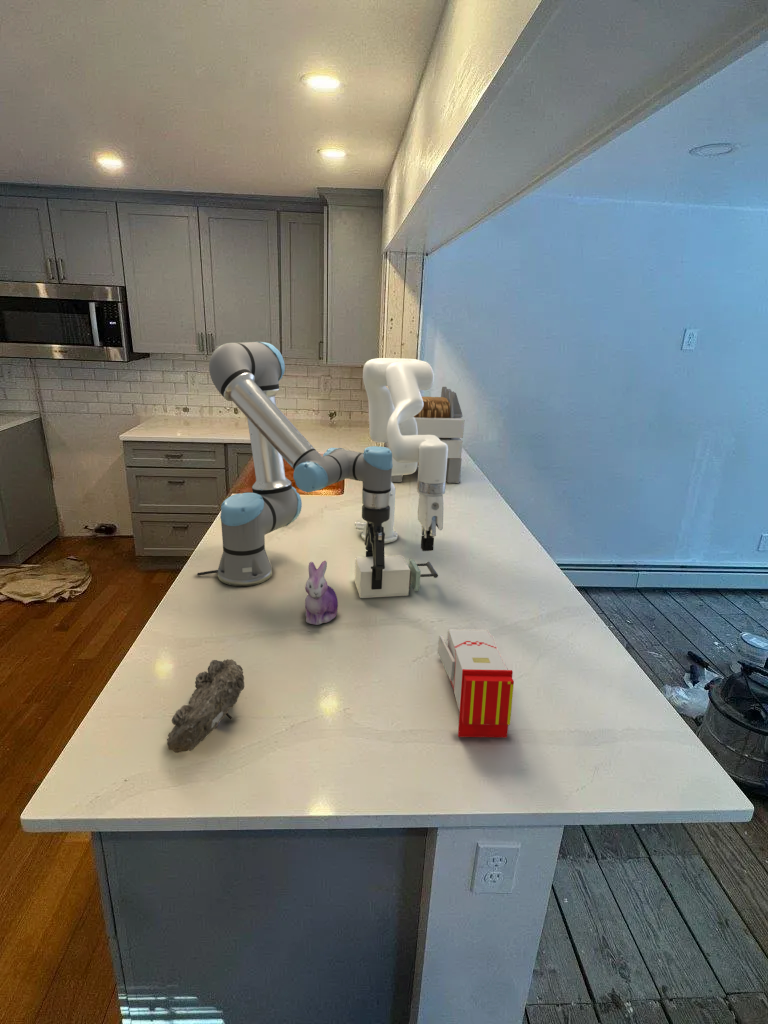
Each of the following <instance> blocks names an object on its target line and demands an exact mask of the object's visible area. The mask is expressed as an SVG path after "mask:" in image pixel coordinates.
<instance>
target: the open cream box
mask: <svg viewBox="0 0 768 1024" xmlns="http://www.w3.org/2000/svg"><path fill="white" fill-rule="evenodd" d="M384 560H385V569H383V571H382V589H375V590H372V589H371V586H372V569H371V567H372V566H373V557H366V556H355V563H354V564H355V566H354V584H355V587H356V590H357V593H358V596H359V599H369V598H387V597H388V598H389V597H405V596H409V593H410V589H409V579H410V569H409V564H408V563H407V561H406V559H405V557H404V556H403V554H402V555H401V554H398V555H384Z"/></svg>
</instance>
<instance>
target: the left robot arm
mask: <svg viewBox="0 0 768 1024" xmlns="http://www.w3.org/2000/svg"><path fill="white" fill-rule="evenodd" d="M208 371H209V376H210V379H211V381H212V383H213V385H214V387H215V388H216V390H217V391H218V392H219V394H220V395H221V396H222V397H223V398H224V399H225V401H227V402H232V403H234V404H235V406H236V407H237V408H238V409H239V410H240V411H241V412H242V414H243V415H244V416H245V417H246V420H247V427H248V433H249V440H250V447H251V453H252V454H251V455H252V461H253V468H254V475H255V482H254V483H253V484H252V486H251V489H252V492H242V493H235V494H232V495H230V496H228V497H227V498H225V499H224V500H223V502H222V503H221V506H220V518H219V519H220V523H221V524H220V525H221V539H222V554H221V557H220V560H219V564H218V567H217V569H214V570H213V569H212V570H207V571H201V572H197V573H196V574H197V576H198V577H199V576H205V575H211V574H217V578H218V580H219V581H220V582H221V583H223V584H226V585H228V586H233V587H250V586H255V585H259V584H262V583H265V582H266V581H268V580H269V579H270V578H271V577H272V575H273V566H272V563H271V561H270V559H269V555H268V553H267V550H266V543H265V542H266V540H265V536H266V535H268V534H270V533H272V532H275V531H276V530H279V529H281V528H284V527H287V526H289V525H290V524H291V523H293V522H294V521H296V520H297V519H298V518H299V516H300V514H301V512H302V508H303V507H302V506H303V501H302V498H301V495H300V493H299V492H297V491H298V490H297V489H296V488H295V486H296V487H297V488H298V489H299V490H300V491H302V492H304V493H314V492H317V491H320V490H323V489H324V488H326V487H329V486H331V485H333V484H336V483H339V482H341V481H344V480H347V479H348V480H352V481H353V480H354V481H358V482H362V491H361V503H362V506H361V518H362V520H363V521H364V522H366V521H367V524H366V535H365V540H364V544H363V545H364V546H365V557H373V566H372V567H371V569H372V586H371V589H372V590H375V589H382V571H383V569H385V560H384V556H385V543H384V539H385V533H384V527H382V523H383V522H386V521H388V520H389V518H390V506H389V505H390V496H392V495H393V494H392V493H391V476H392V467H393V465H392V452H391V450H390V449H388V448H386V447H384V446H377V445H371V446H367V447H365V448H364V449H363V452H361V451H355V450H349V449H345V448H342V447H329V448H328V449H326V451H325V452H324V453H323V455H322V454H321V453H320V452H319V451H318V450H316V448H315V447H314V446H313V445H312V444H311V442H310V441H309V440H308V439H307V438H306V437H305V436H304V435H303V433H301V431H299V430H298V428H297V427H296V425H294V424H293V423H292V421H290V420H289V418H288V417H287V416H286V415H285V414H284V413H283V412H282V411H281V410H280V409H279V407H278V406H277V401H276V394H277V393H278V392H279V391H280V383H279V382H280V381H281V380H282V378H283V376H284V375H285V372H286V365H285V360H284V356H283V355H282V353H281V352H280V350H279V349H278V348H277V347H276V346H274V344H272V343H269V342H265V341H246V342H245V341H244V342H227V343H223V344H221V345H220V346H218V347H217V348H216V349H215V350H213V352H212V354H211V356H210V358H209V363H208ZM284 461H285V462H286V463H287V464H288V465H289V466H290V467H291V468H292V469H293V480H294V483H295V486H293V485H292V481H291V480H290V479H288V477H287V476H286V472H285V471H286V470H285V463H284Z"/></svg>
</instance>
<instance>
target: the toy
mask: <svg viewBox="0 0 768 1024" xmlns="http://www.w3.org/2000/svg"><path fill="white" fill-rule="evenodd" d="M446 640H447V643H446V641H445V639H444V636H443V635H442V634H439V637H438V646H437V656H438V657H439V659H440V661H441V663H442V666H443V668H444V670H445V672H446V674H447V677H448V679H449V681H450V684H451V687H452V690H453V693H454V697H455V701H456V705H457V708H458V711H459V714H458V715H459V716H458V730H457V731H458V732H457V737H458V738H508V731H509V726H510V725H511V717H512V707H513V697H514V696H513V695H514V684H515V680H514V679H513V673H514V671H513V670H512V669H508V667H507V665H506V662H505V661H504V659H503V658H502V655H501V653H500V651H499V649H498V647H497V643H496V639H495V637H494V635H493V634H491V632H490V631H489V629H467V628H466V629H465V628H463V629H461V628H460V629H459V628H448V630H447V639H446Z"/></svg>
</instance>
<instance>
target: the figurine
mask: <svg viewBox="0 0 768 1024" xmlns="http://www.w3.org/2000/svg"><path fill="white" fill-rule="evenodd" d="M327 567H328V561H327V560H324V561H323V560H322V562H321V563H320V565H319V566H318V568H317V567H316V565H315V563H314V561H310V562H308V578H307V580H306V582H305V585H304V588H305V592H306V593H307V595H306V597H305V600H304V608H305V618H306V619H305V621H306V623H307V624H311V625H315V626H319V625H322V624H327V623H329V622H331V621H332V620H334V619H335V618H336V617H337V614H338V606H339V602H338V596H337V593H336V592H335V590H334V589H333V587H331V586H330V585H329V584H328V582H327V580H326V578H325V574H326V571H327Z"/></svg>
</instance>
